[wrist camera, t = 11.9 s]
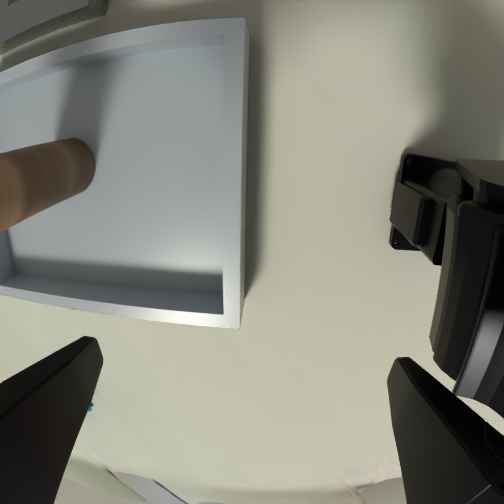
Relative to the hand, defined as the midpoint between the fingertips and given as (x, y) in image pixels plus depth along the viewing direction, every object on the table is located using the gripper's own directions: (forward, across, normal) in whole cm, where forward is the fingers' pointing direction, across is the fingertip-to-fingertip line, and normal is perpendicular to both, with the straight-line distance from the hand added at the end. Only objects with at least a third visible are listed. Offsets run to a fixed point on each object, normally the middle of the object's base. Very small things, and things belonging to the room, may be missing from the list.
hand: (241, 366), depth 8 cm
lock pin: (+12, +13, -4) cm, 18 cm away
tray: (+13, +12, -3) cm, 18 cm away
